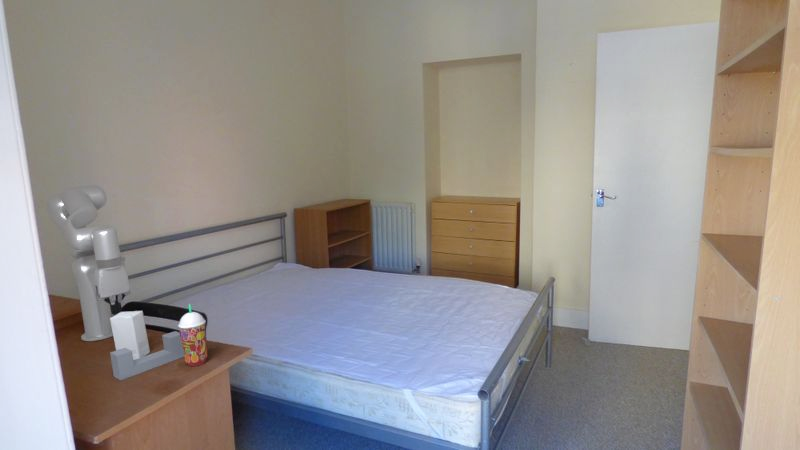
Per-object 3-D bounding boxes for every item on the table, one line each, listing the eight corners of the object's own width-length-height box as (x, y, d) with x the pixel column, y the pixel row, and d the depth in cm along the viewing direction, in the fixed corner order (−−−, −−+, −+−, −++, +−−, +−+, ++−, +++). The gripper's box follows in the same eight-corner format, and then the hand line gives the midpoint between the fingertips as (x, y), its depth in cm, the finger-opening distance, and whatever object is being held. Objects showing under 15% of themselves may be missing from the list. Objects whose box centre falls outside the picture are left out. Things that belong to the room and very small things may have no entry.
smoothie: (177, 365, 165) (169, 307, 161) (198, 355, 172) (191, 299, 169) (195, 370, 161) (187, 309, 157) (215, 359, 168) (208, 301, 165)
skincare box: (150, 352, 177) (144, 310, 174) (139, 361, 170) (132, 316, 168) (128, 353, 177) (121, 310, 175) (115, 361, 171) (109, 317, 168)
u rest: (113, 376, 159) (110, 352, 158) (178, 353, 175) (175, 331, 174) (120, 380, 156) (116, 356, 155) (185, 356, 172) (182, 333, 171)
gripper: (126, 257, 182) (134, 306, 185) (80, 267, 171) (89, 319, 174) (136, 259, 177) (143, 309, 180) (89, 269, 166) (98, 322, 169)
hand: (116, 314), depth 177 cm, fingers closed
